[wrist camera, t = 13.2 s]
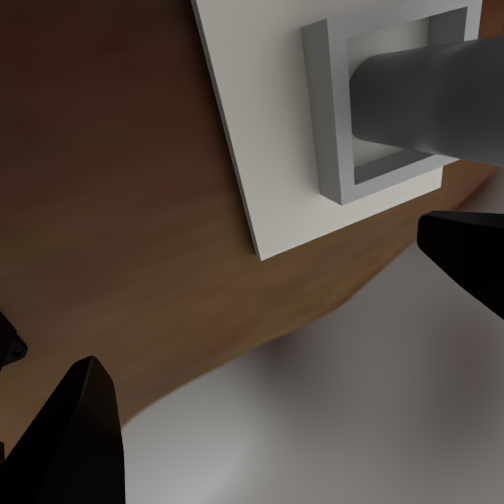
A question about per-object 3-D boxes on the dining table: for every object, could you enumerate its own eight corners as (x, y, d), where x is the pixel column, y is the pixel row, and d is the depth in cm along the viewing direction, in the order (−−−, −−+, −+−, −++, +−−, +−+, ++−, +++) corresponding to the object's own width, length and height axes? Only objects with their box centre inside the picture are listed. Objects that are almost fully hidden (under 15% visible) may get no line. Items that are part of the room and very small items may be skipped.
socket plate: (256, 254, 23) (275, 278, 20) (183, -26, 15) (200, -55, 12) (430, 184, 26) (469, 195, 23) (450, -79, 18) (514, -112, 15)
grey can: (331, 134, 20) (588, 182, 9) (358, 39, 18) (723, -43, 7) (391, 149, 22) (657, 202, 11) (421, 65, 20) (775, 33, 9)
